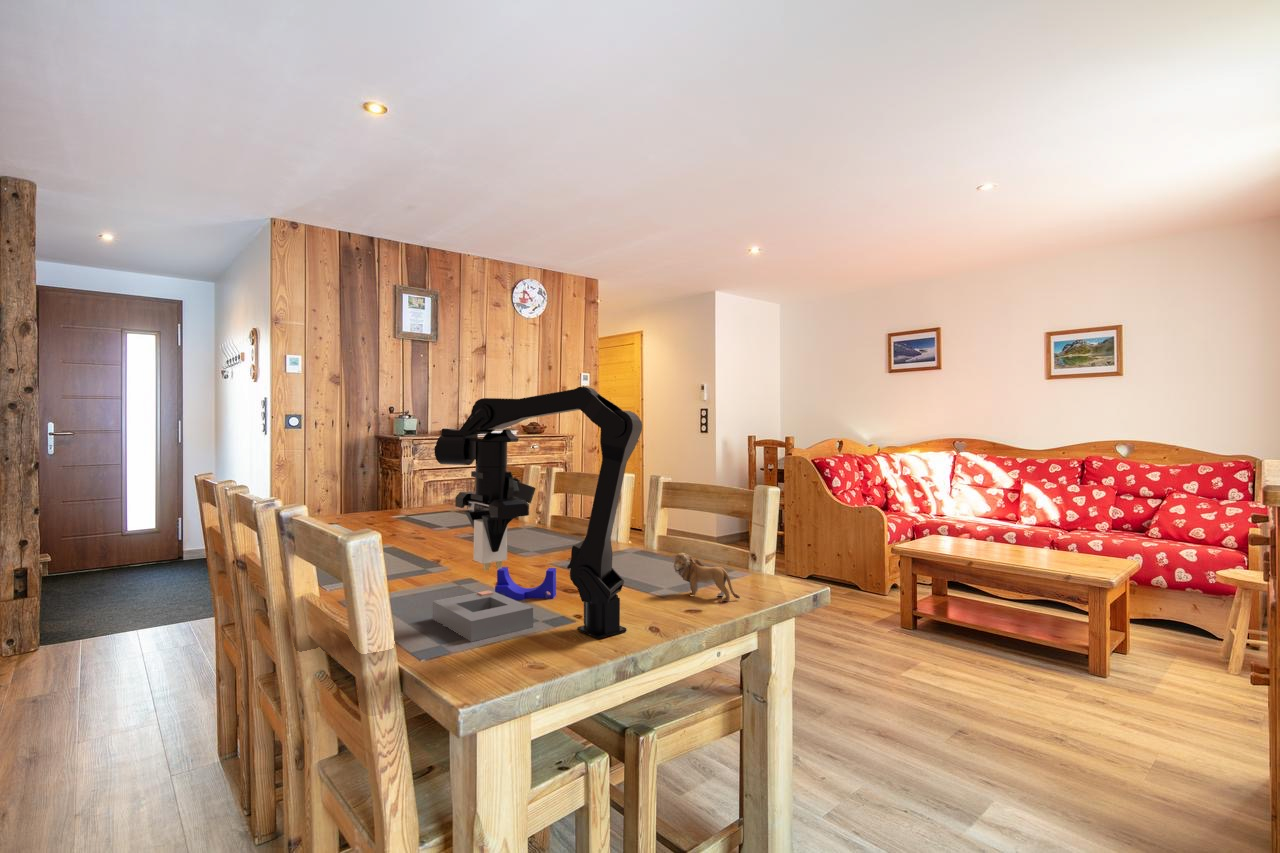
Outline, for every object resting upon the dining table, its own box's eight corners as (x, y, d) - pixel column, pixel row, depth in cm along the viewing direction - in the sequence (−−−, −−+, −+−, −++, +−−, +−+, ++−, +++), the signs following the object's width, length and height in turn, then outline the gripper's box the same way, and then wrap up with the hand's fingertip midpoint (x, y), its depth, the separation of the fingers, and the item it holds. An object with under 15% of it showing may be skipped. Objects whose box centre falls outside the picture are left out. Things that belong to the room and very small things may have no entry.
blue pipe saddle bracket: (495, 600, 133) (495, 571, 133) (501, 594, 137) (501, 567, 137) (551, 601, 132) (551, 572, 132) (556, 595, 136) (556, 568, 136)
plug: (506, 568, 118) (507, 520, 118) (482, 571, 115) (482, 522, 115) (497, 564, 121) (498, 517, 121) (473, 568, 118) (474, 519, 118)
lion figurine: (669, 596, 136) (669, 554, 136) (677, 590, 140) (677, 549, 140) (737, 603, 130) (737, 560, 130) (743, 597, 135) (743, 555, 135)
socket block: (532, 627, 115) (533, 606, 115) (471, 641, 107) (471, 619, 107) (490, 607, 127) (490, 588, 127) (432, 619, 119) (432, 599, 119)
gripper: (555, 468, 116) (554, 553, 116) (506, 461, 130) (505, 537, 130) (499, 470, 109) (498, 561, 109) (454, 463, 123) (453, 543, 123)
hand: (490, 549), depth 118 cm, fingers closed on plug, 4 cm apart
